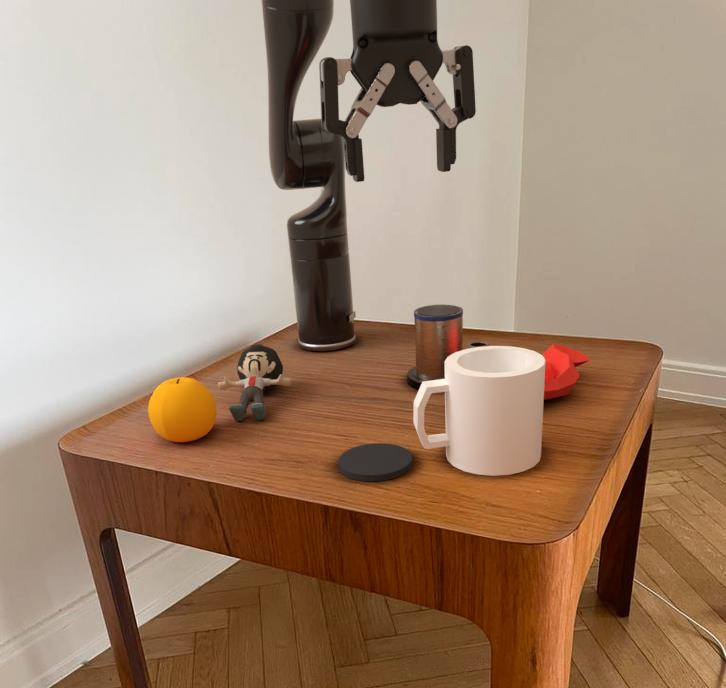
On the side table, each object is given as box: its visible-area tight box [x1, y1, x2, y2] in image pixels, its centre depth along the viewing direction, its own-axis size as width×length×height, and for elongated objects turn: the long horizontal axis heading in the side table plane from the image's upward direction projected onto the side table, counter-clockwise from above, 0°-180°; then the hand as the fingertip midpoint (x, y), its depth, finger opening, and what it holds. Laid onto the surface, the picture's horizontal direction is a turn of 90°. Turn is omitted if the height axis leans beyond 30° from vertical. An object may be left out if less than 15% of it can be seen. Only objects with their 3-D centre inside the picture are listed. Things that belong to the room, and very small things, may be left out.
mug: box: [412, 345, 545, 477], centre depth 79 cm, size 14×10×11 cm
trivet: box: [337, 442, 413, 482], centre depth 81 cm, size 8×8×1 cm
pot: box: [413, 304, 464, 379], centre depth 101 cm, size 6×6×8 cm
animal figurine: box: [541, 343, 592, 400], centre depth 97 cm, size 12×15×5 cm
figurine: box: [217, 343, 293, 422], centre depth 100 cm, size 10×7×15 cm
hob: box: [406, 366, 439, 391], centre depth 103 cm, size 9×9×1 cm
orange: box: [147, 376, 218, 443], centre depth 90 cm, size 8×8×8 cm
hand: (401, 175), depth 72 cm, fingers open, 8 cm apart
